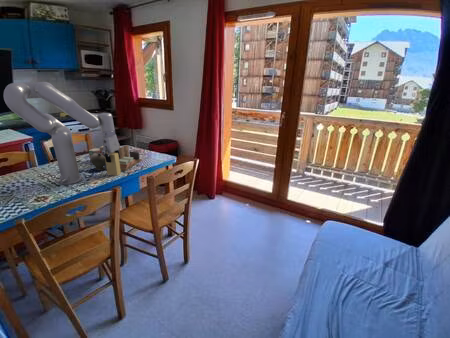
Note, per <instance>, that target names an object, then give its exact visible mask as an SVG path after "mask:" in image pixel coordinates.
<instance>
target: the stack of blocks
mask: <svg viewBox="0 0 450 338" xmlns="http://www.w3.org/2000/svg"><path fill="white" fill-rule="evenodd" d="M119 147H120V148H121V145H120V146H119ZM120 148H119V149H120ZM103 149H104V148H103V145H102V146H99V148H91V149H88V155H89V158H90V157H91V156H92V155H93V154H94V153H101V154H102V155H103V153H102V150H103ZM93 152H94V153H93Z"/></svg>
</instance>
